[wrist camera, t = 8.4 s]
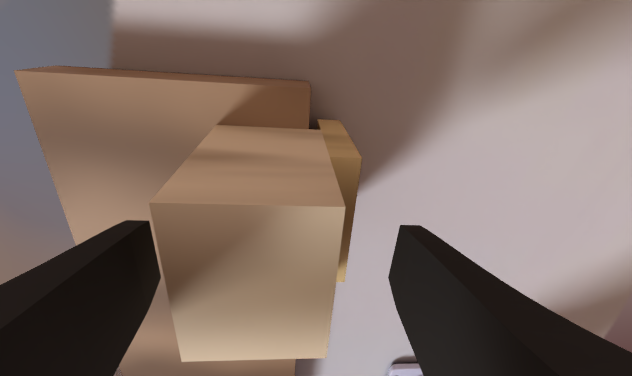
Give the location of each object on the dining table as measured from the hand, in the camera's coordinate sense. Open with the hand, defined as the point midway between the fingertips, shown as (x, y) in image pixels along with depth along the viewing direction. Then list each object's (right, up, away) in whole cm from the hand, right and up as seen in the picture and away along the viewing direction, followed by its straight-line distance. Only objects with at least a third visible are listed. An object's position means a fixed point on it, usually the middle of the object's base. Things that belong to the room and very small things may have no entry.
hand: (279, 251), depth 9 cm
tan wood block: (-1, +3, +5) cm, 6 cm away
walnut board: (-5, -3, +8) cm, 10 cm away
